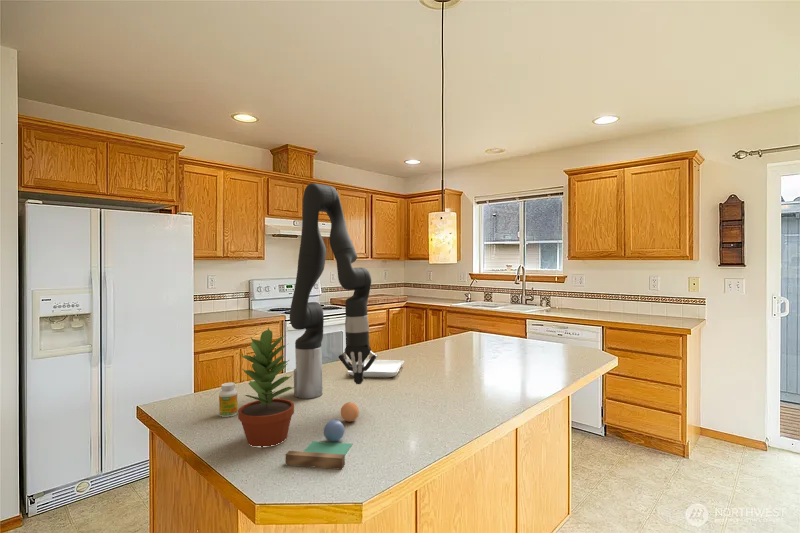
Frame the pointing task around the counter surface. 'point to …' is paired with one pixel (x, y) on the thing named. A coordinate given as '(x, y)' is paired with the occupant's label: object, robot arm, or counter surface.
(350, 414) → the orange ball
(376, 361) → the salad plate
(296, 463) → the stopper wall
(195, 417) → the counter surface
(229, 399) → the supplement bottle
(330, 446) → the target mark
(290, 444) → the counter surface
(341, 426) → the object ball
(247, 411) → the potted plant
